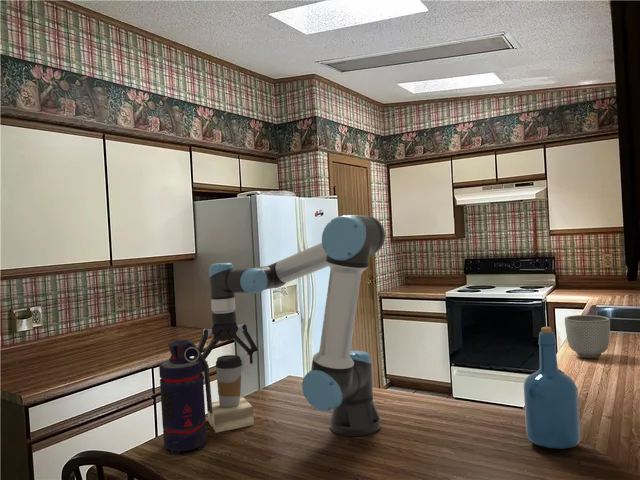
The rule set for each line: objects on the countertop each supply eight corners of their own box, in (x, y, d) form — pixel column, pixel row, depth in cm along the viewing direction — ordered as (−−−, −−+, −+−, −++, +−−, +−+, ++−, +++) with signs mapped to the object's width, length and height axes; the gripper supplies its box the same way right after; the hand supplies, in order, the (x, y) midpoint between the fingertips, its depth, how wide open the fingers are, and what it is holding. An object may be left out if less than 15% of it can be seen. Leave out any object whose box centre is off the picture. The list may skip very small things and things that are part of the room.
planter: (573, 360, 214) (571, 322, 214) (561, 351, 231) (559, 315, 231) (618, 359, 211) (616, 321, 211) (602, 350, 228) (600, 314, 228)
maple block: (254, 425, 161) (252, 406, 161) (215, 433, 156) (214, 414, 156) (243, 414, 172) (242, 396, 172) (208, 421, 168) (206, 403, 167)
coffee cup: (237, 410, 159) (236, 362, 159) (211, 408, 161) (211, 360, 161) (246, 400, 168) (245, 355, 167) (222, 399, 169) (221, 354, 169)
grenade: (168, 458, 139) (162, 348, 139) (160, 444, 150) (154, 341, 149) (218, 446, 145) (212, 340, 145) (207, 433, 156) (201, 334, 156)
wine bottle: (578, 454, 127) (571, 333, 127) (521, 445, 134) (515, 330, 134) (583, 434, 139) (577, 323, 139) (531, 427, 146) (525, 322, 146)
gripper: (257, 306, 173) (261, 368, 173) (181, 314, 162) (185, 381, 162) (264, 308, 166) (268, 373, 166) (186, 317, 156) (190, 387, 156)
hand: (227, 377), depth 164 cm, fingers open, 13 cm apart
